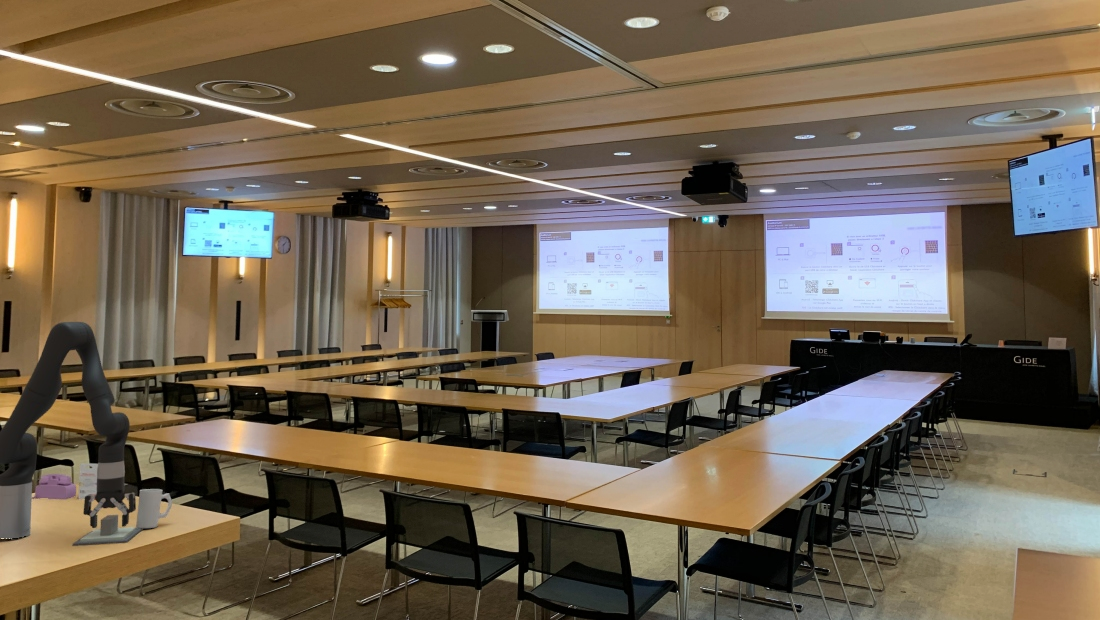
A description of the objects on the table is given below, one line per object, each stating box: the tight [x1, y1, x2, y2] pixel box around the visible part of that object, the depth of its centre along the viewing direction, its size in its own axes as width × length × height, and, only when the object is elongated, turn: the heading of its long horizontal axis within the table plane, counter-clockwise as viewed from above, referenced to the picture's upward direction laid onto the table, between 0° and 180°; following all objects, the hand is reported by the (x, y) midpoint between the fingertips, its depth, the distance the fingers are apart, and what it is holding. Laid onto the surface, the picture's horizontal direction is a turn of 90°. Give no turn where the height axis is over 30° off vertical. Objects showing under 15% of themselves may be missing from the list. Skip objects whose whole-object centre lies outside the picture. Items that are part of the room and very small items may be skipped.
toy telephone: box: [32, 473, 77, 500], centre depth 279 cm, size 18×6×10 cm, turn 80°
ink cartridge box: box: [78, 462, 98, 501], centre depth 277 cm, size 9×5×15 cm, turn 81°
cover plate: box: [79, 514, 137, 542], centre depth 224 cm, size 12×12×6 cm
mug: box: [135, 488, 173, 529], centre depth 237 cm, size 10×7×12 cm, turn 120°
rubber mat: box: [72, 527, 144, 547], centre depth 224 cm, size 15×15×1 cm
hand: (109, 526), depth 224 cm, fingers open, 8 cm apart
